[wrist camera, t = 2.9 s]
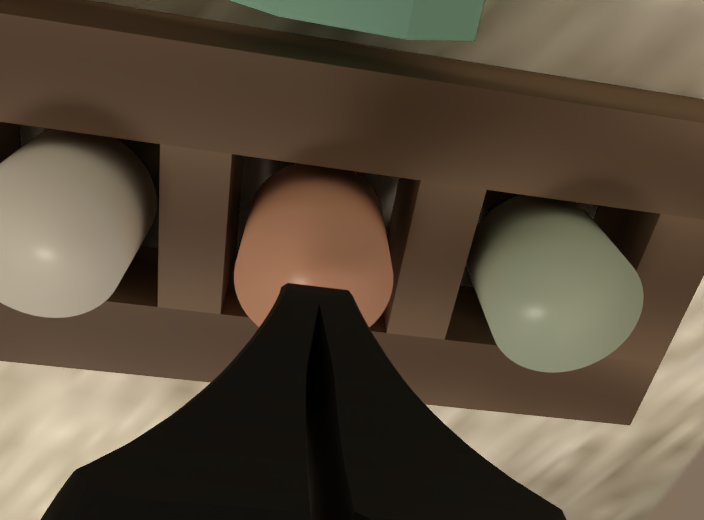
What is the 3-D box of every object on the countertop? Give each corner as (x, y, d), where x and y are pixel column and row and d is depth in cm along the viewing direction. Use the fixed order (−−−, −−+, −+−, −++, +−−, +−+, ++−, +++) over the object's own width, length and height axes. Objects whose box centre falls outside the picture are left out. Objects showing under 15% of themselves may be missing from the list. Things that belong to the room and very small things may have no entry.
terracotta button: (370, 289, 18) (377, 353, 15) (243, 273, 18) (229, 337, 15) (395, 170, 16) (407, 221, 14) (254, 151, 16) (240, 199, 13)
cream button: (156, 263, 17) (125, 326, 15) (19, 246, 17) (-38, 308, 14) (157, 137, 16) (122, 183, 13) (5, 116, 15) (-62, 158, 13)
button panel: (593, 362, 21) (629, 425, 19) (-27, 292, 19) (-82, 352, 17) (705, 99, 17) (773, 133, 15) (-74, -26, 15) (-159, -12, 12)
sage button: (571, 313, 19) (611, 379, 16) (453, 299, 18) (474, 364, 16) (615, 201, 17) (668, 255, 14) (484, 183, 17) (514, 234, 14)
